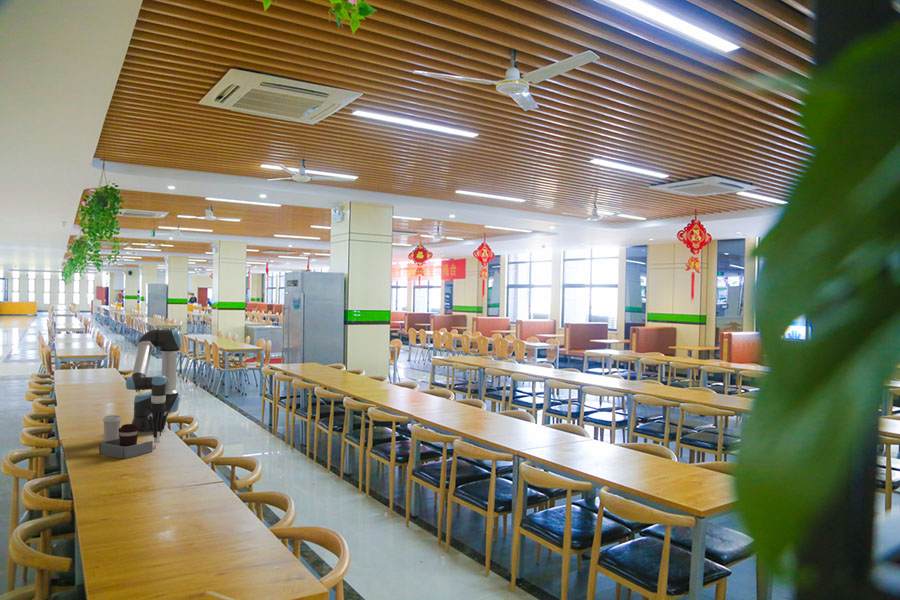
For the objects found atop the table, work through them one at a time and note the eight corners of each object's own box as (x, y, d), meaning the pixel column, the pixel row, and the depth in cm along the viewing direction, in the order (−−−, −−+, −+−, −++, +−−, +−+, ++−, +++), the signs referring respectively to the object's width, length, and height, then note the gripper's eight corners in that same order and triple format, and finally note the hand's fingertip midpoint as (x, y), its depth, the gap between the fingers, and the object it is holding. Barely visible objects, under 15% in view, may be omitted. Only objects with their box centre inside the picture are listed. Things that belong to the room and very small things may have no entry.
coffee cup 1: (114, 444, 333) (115, 418, 333) (98, 443, 333) (99, 417, 333) (124, 440, 342) (125, 415, 342) (108, 439, 342) (109, 414, 342)
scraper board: (141, 447, 331) (141, 442, 331) (155, 450, 326) (155, 445, 326) (128, 450, 324) (128, 445, 324) (143, 453, 319) (143, 448, 319)
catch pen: (127, 446, 329) (128, 436, 329) (152, 451, 320) (152, 441, 320) (99, 453, 313) (99, 442, 313) (123, 459, 305) (124, 447, 305)
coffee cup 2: (142, 450, 322) (143, 423, 322) (129, 455, 312) (130, 427, 312) (126, 449, 324) (127, 422, 324) (113, 453, 314) (114, 426, 314)
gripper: (163, 400, 342) (161, 439, 342) (143, 403, 330) (142, 444, 330) (172, 401, 339) (170, 441, 339) (152, 404, 327) (151, 446, 327)
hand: (156, 442), depth 334 cm, fingers closed
